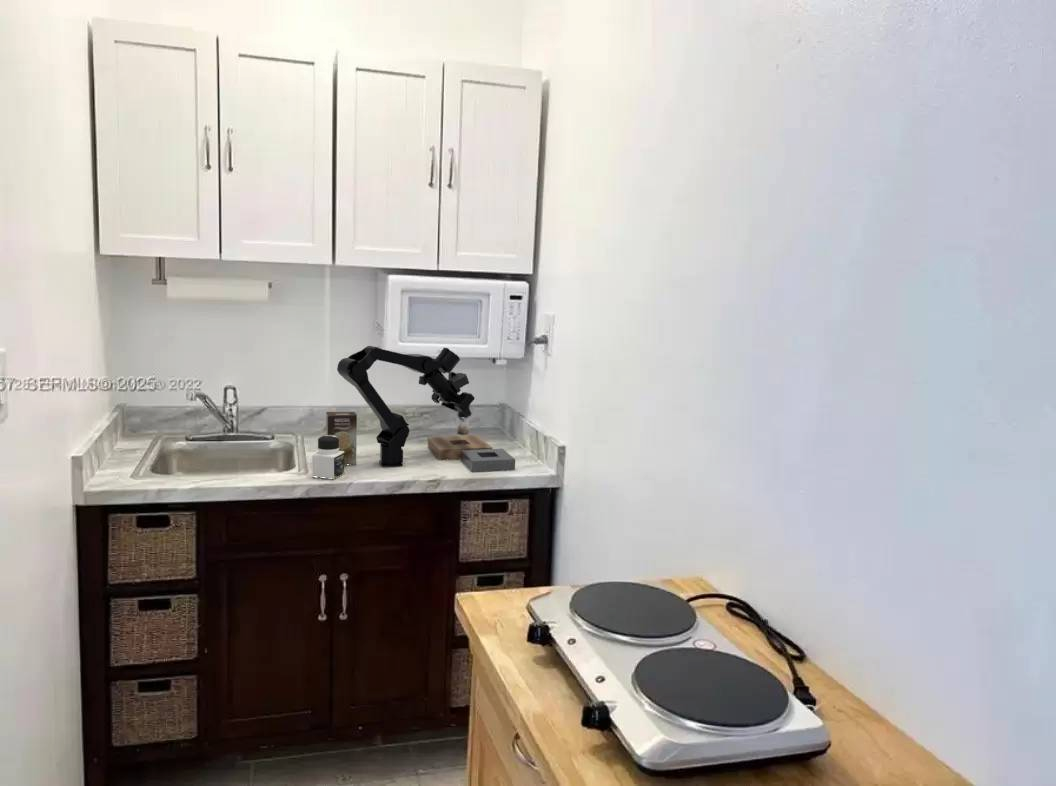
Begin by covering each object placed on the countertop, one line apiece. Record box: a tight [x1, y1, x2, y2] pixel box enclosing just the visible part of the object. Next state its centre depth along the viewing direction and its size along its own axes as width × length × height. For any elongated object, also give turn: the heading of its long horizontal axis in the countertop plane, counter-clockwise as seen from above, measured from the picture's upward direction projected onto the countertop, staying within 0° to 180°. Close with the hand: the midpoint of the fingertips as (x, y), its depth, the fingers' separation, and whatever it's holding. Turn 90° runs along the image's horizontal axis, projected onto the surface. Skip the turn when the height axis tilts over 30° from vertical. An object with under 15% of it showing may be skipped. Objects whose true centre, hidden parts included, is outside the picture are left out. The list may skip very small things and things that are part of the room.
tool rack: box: [427, 434, 493, 461], centre depth 271 cm, size 18×18×4 cm
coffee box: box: [325, 411, 358, 466], centre depth 251 cm, size 9×6×16 cm
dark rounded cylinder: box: [456, 404, 471, 436], centre depth 268 cm, size 4×4×13 cm
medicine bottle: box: [311, 435, 346, 480], centre depth 236 cm, size 7×7×12 cm
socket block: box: [460, 448, 516, 473], centre depth 256 cm, size 14×14×4 cm
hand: (466, 414), depth 269 cm, fingers closed on dark rounded cylinder, 4 cm apart
